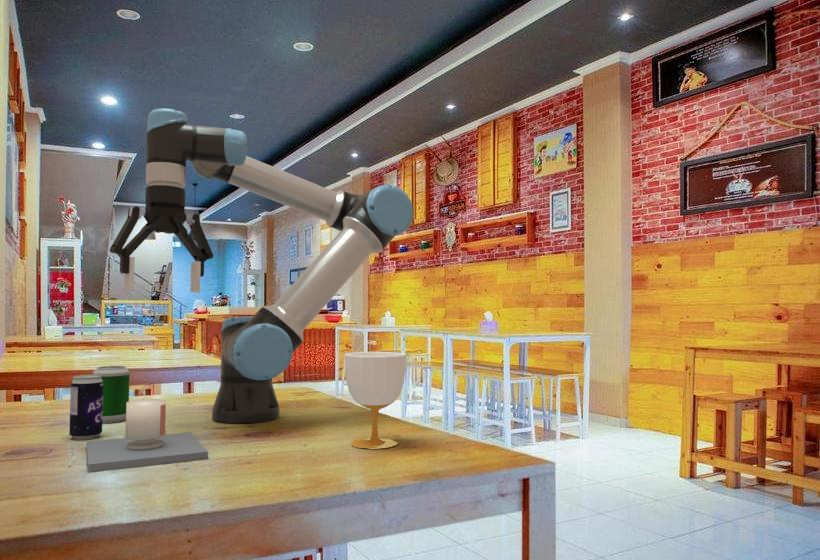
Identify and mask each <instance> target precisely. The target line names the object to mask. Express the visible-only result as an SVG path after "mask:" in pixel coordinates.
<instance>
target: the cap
mask: <svg viewBox="0 0 820 560" xmlns="http://www.w3.org/2000/svg"><path fill="white" fill-rule="evenodd" d="M166 408H167V400H166V399H161V398H147V399H145V398H142V399H134V400H129V402H127V403H126V418H125V438H126V439H129V440H149V439H156V438H160V437H163V436H165V434H166V416H167V415H166V412H167V411H166V410H167V409H166Z"/></svg>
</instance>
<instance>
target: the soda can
mask: <svg viewBox="0 0 820 560" xmlns="http://www.w3.org/2000/svg"><path fill="white" fill-rule="evenodd" d="M130 374H131V372H130V370H129V369H128V368H127V367H126V366H124V365H106V366H105V365H103V366H97V367H96V369H95V370H93V371H92V375H101V378H102V380H103V417H102V424H113V423H114V422H115V423H120V421H121V422H124V421H125V420H126V403H127V402H129V401H130V378H131V377H130V376H131V375H130ZM115 423H114V424H115Z"/></svg>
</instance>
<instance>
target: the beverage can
mask: <svg viewBox="0 0 820 560" xmlns="http://www.w3.org/2000/svg"><path fill="white" fill-rule="evenodd" d="M72 378H73V379H72V381H71V383H70V395H69V396H70V400H69V401H70V402H69V403H70V405H69V431H68V432H69V433H68V434H69V436H70V437H72V438H73V440H76V441H78V440H79V441H82V440H85V441H86V440H87V441H88V440H92V439H93V440H94V439H97V438H98V437H99V435H101V433H103V423H102V417H103V380H102V378H101V375H93V374H80V375H75V376H73V377H72Z"/></svg>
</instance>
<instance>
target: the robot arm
mask: <svg viewBox="0 0 820 560" xmlns="http://www.w3.org/2000/svg"><path fill="white" fill-rule="evenodd" d="M146 127H147V129H146V163H145V164H146V165H145V167H146V168H145V169H146V170H145V183H146V184H147V185H148V186H147V187H145V194H144V195H145V196H144V197H145V201H144V202H145V207H144V208H140V207H139V206H137V205H136V206H132V207H129V208H128V211H127V217H126V220H125V222H124V223H123V225H122V226H121V229H120V230H119V231H118V234H117V235H116V237H115V239H114V241H112V244H111V246H110V248H109V252H110V253H111V254H115V255H117V256H118V257H119V272H120V274H122V275H123V274H124V276H123V278H124V282H123V291H124V292H134V291H135V262H136V260H135V259H136V258H135V257H133V256H131V255H132V254H134V252H135V250H137V248H139V247H140V245H142V243H144V241H145V240H146V239H147V238H148V237H150V235H151V234H152V233H153V232H154V233H158V234H159V233H165V234H166V235H167V234H168V235H169V234H170V235H171V234H174V235H175V237H177V238H178V239H179V241H180V242H181V243H182V245H183V246H184V248H185V249H186V251H188V252H189V254H190V256H191V257H192V258H193V260H194V261H190V289H189V290H190V291H189V292H190V293H196V294H197V293H201V277H202V278H203V277H204V275H205V262H206V261H207V260H210V259H211V260H212V259H213V258H214V253H213V252H212V249H211V246H210V245H209V242H208V239H207V237H206V235H205V232H204V230H203V228H202V225H201V219H200V218H201V216H200V215H199V214H198V213H193V214H186V212H185V211H186V209H185V207H186V190H185V189H184V188H185V187H186V183H187V180H186V179H187V178H186V177H187V175H186V173H187V161H188V162H192V168H193V169H194V172H195V173H196V174H197V175H198V176H200V177H202V178H204V179H206V180H207V179H209V180H210V179H211V180H213V179H217V180H219V181H221V182H224V183H227V184H229V185H233V186H235V187H238V188H240V189H243V190H245V191H248V192H250V193H253V194H256V195H257V196H261V197H264V198H266V199H269V200H270V201H271V200H272V201H273V202H276V203H278V204H281V205H284V206H286V207H289V208H292V209H295V210H297V211H299V212H303V213H305V214H307V215H309V216H312V217H315V218H318V219H320V220H322V221H325V223H326V225H327V227H330V228H332V229H335V230H337V231H339V233H338V234H337V235H336V236H335V237H334V238H333V239H332V240H331V241H330V242H329V244H328V245H327V246H326V247H325V248H324V249H323V250H322V251H321V252H320V253H319V255H317V256H316V257H315V259H314V260H313V261H312V262H311V263H310V264H309V265H308V266H307V268H306V269H305V270H304V271H303V272H302V273H301V274H300V275H299V276H298V278H296V279H295V281H294V282H293V283H292V284H291V285H290V286H289V287H288V288H287V290H285V292H284V293H283V294H282V295H280V297H279V299H277V300H276V302H275V303H274V304H272V305H262V306H261V308H260V309H259V310H258V311H257V312H256V313H255V314H254V315H253V316H251V315H250V316H236V317H229V318H226V319H225V320H223V322H222V324H221V329H220V330H221V331H220V335H221V336H220V337H221V344H220V345H221V350H220V351H221V353H220V355H221V356H220V359H221V361H220V385H219V386H220V387H219V388H218V392H217V395H216V397H215V400H214V402H213V406H212V409H211V416H212V417H211V420H212V421H215V422H218V423H226V424H227V423H230V424H248V423H249V424H250V423H252V424H253V423H259V422H262V423H263V422H267V421H272V420H275V419H278V418H279V417H280V404H279V401H278V398H277V394H276V391H275V388H274V386H273V379H274V378H276V377H278V376H280V375H281V374H282V373H284V371H286V370H287V368H288V367H289V366H290V363H291V361H292V358H293V354H294V353H295V351H297V349H298V348H299V347H300V346H301V345H302V343H303V342H304V330H305V329H306V328H307V327H308V326H309V325H310V324H311V323H312V322H313V320H314V319H315V318H316V317H317V316H318V314H320V312H321V311H322V310H323V309H324V308H325V306H327V305H328V303H329V302H330V301H331V300H332V299H333V297H335V295H336V294H337V293H338V292H339V291H340V290H341V288H342V287H344V285H345V284H346V283H347V281H349V279H350V278H351V277H352V276H353V275H354V274H355V273H356V272H357V270H358V269H359V268H360V267H361V266H362V265H363V263H364V262H365V261H366V260H367V259H368V257H370V255H372V254H381V252H383V250H384V249H385V248H386V247H387V246H388V245H389V244H390V243H391V242H392V240H394V238H395V237H396V236H400V235H402V234H403V233H404V232H406V231H407V230H408V229H409V228H410V226H411V224H412V223H413V220H414V207H413V203H412V201H411V199H410V197H409V195H408V194H407V193H406V192H405V191H404V190H403V189H401V188H400V187H398V186H395V185H391V184H385V185H378V186H376V187H375V188H374V187H373V188H372V189H371V190H370V191H368V192H365V193H362V194H354V193H350V192H348V191H345V190H341V189H340V190H339V191H334V190H331V189H329V188H326V187H325V186H322V185H319V184H316V183H314V182H312V181H309V180H307V179H304V178H303V177H300V176H297V175H294V174H292V173H290V172H287V171H285V170H282V169H279V168H278V167H275V166H272V165H270V164H267V163H265V162H264V161H263V162H262V161H260V160H258V159H256V158H252V157H250V156H248V155H247V152H248V139H247V135H246V133H245V132H244V131H242V130H239V129H234V128H230V127H228V128H226V127H225V128H224V127H217V126H216V127H214V126H210V125H209V126H208V125H207V126H206V125H199V124H193V123H189V121H188V116H187V115H186V114H185V113H184V112H182V111H179V110H176V109H173V108H163V107H162V108H155V109H153V110H151V111H150V112H149V113H148V116H147V126H146ZM142 217H143V218H144V220H145V221H146V223H145V224H144V225H143V226H142V227H141V229H140V230H139V232H138V233H137V234H136V235H135V236H134V237H133V238H131V240H130V241H129V242H128V243H126V242H127V241H128V239H129V238H130V235H131V234H132V232H133V230H134V229H135V227H136V225H137V223H138V221H139V220H140V219H142ZM185 222H186V224H188V226H189V228H190V230H191V231H190V232H191V233H192V236H193V238H192V237H191V236H190V234H189V232H188V230H187V228H186V227H185V225H184V224H185ZM194 240H195V241H194Z"/></svg>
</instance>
